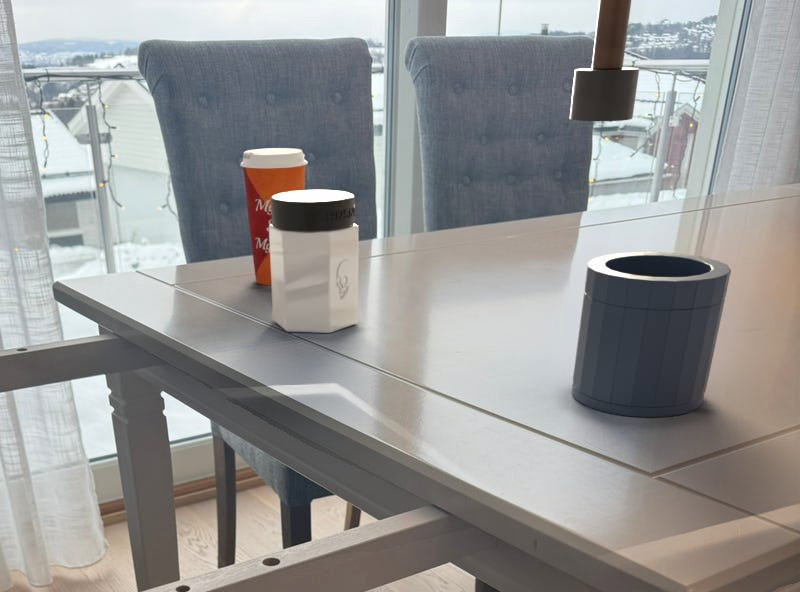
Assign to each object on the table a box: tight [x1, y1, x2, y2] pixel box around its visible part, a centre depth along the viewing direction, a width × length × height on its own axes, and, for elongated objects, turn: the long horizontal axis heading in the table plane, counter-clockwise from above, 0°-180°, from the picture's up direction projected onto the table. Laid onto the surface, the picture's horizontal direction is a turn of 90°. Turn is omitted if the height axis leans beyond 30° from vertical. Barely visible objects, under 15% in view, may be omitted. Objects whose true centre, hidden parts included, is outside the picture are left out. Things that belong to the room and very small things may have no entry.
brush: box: [569, 0, 640, 122], centre depth 72 cm, size 5×5×16 cm
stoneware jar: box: [571, 251, 732, 418], centre depth 73 cm, size 10×10×10 cm
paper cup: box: [239, 147, 309, 287], centre depth 109 cm, size 8×8×14 cm
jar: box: [269, 189, 360, 334], centre depth 93 cm, size 9×8×12 cm
